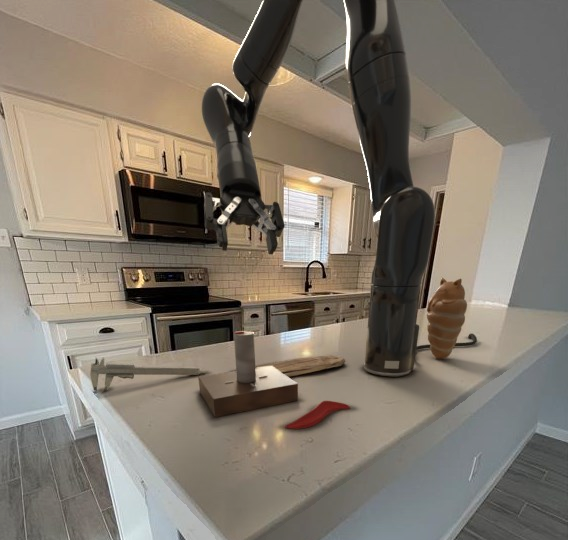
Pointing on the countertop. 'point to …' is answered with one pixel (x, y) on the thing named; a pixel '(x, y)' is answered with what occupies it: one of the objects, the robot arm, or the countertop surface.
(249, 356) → the rod
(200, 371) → the caliper
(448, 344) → the cat bread figurine
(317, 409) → the cayenne pepper
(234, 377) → the rod block
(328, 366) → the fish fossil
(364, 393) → the countertop surface
